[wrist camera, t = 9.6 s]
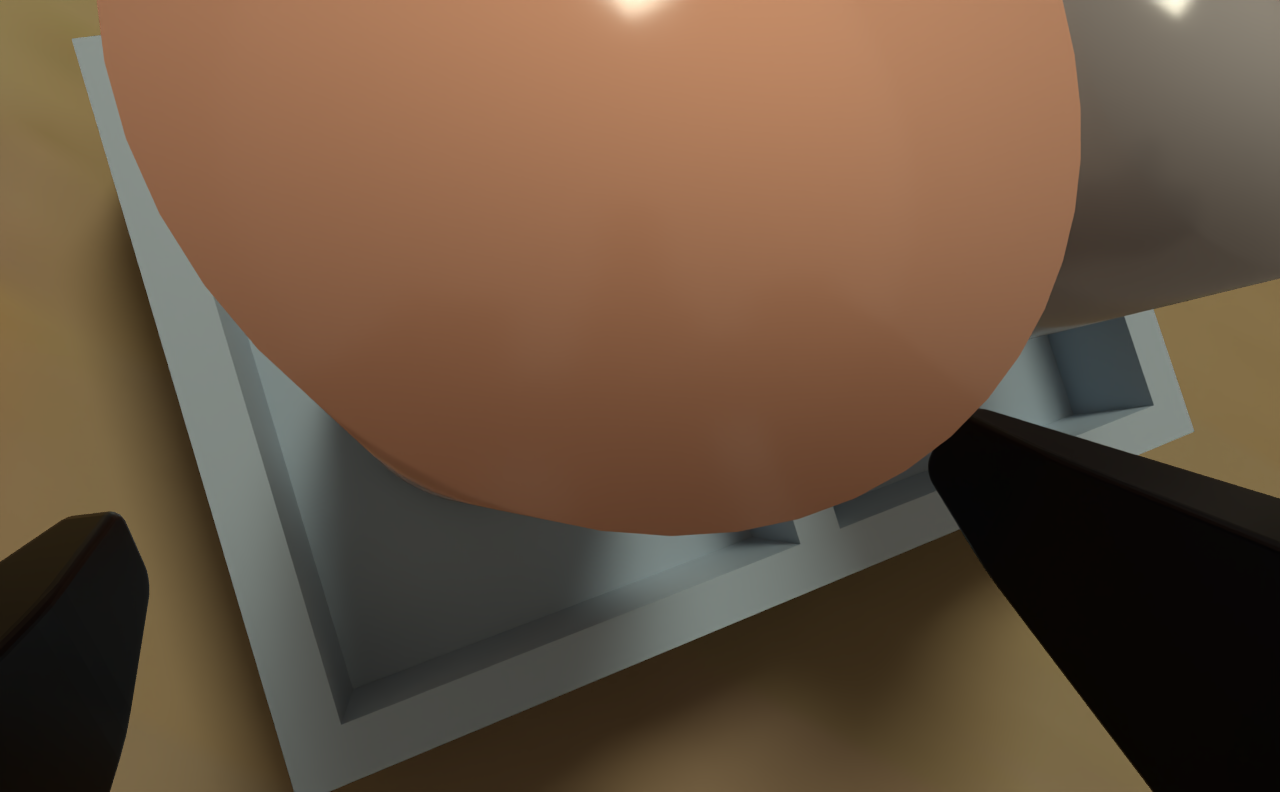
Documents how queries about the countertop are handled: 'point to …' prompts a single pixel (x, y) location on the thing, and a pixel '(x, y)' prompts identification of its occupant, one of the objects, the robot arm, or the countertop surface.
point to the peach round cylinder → (618, 230)
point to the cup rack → (510, 530)
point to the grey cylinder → (1171, 156)
